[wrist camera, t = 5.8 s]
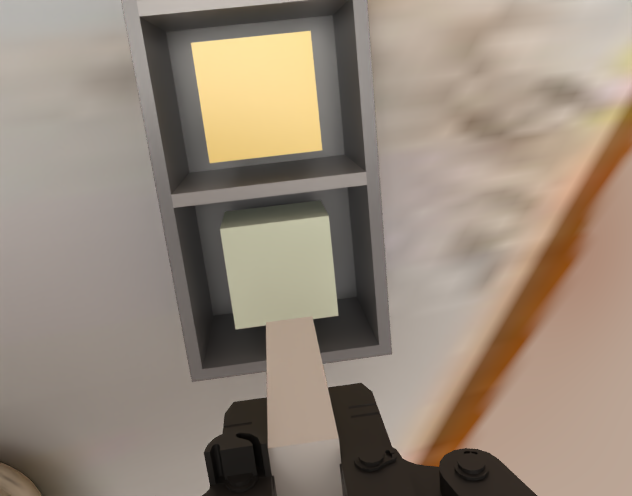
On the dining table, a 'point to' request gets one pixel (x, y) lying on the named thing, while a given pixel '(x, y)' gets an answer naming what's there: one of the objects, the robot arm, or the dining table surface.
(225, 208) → the compartment tray
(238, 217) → the key
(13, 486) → the teapot
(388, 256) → the dining table surface
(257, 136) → the key
